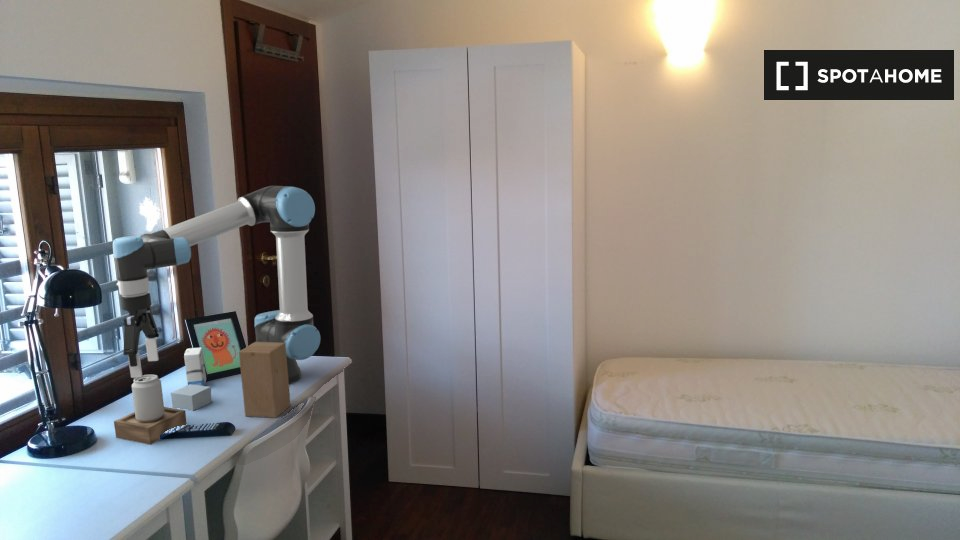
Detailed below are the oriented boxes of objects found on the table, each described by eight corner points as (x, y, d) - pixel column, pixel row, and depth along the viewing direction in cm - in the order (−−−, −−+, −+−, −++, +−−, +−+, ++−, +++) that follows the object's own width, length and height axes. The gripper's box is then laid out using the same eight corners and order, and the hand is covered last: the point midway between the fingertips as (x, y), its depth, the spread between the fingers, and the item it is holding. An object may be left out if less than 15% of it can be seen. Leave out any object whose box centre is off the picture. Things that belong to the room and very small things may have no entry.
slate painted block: (191, 399, 235) (189, 384, 234) (211, 402, 233) (210, 386, 232) (172, 408, 228) (170, 392, 227) (193, 411, 225) (191, 395, 224)
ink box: (203, 388, 244) (199, 354, 242) (187, 390, 243) (183, 355, 241) (206, 380, 252) (202, 346, 250) (190, 381, 251) (186, 348, 249)
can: (147, 412, 214) (142, 372, 212) (170, 413, 212) (165, 373, 210) (130, 422, 207) (124, 381, 205) (154, 424, 205) (149, 382, 203)
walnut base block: (153, 420, 219) (151, 404, 218) (187, 426, 214) (185, 410, 213) (116, 437, 207) (113, 421, 206) (150, 444, 202) (148, 427, 201)
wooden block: (276, 418, 217) (270, 352, 213) (244, 416, 219) (238, 351, 215) (291, 405, 227) (285, 342, 223) (260, 404, 229) (254, 341, 225)
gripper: (136, 284, 214) (146, 355, 219) (102, 306, 190) (114, 385, 194) (163, 282, 215) (172, 353, 219) (132, 304, 191) (144, 383, 195)
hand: (145, 368), depth 207 cm, fingers open, 13 cm apart
